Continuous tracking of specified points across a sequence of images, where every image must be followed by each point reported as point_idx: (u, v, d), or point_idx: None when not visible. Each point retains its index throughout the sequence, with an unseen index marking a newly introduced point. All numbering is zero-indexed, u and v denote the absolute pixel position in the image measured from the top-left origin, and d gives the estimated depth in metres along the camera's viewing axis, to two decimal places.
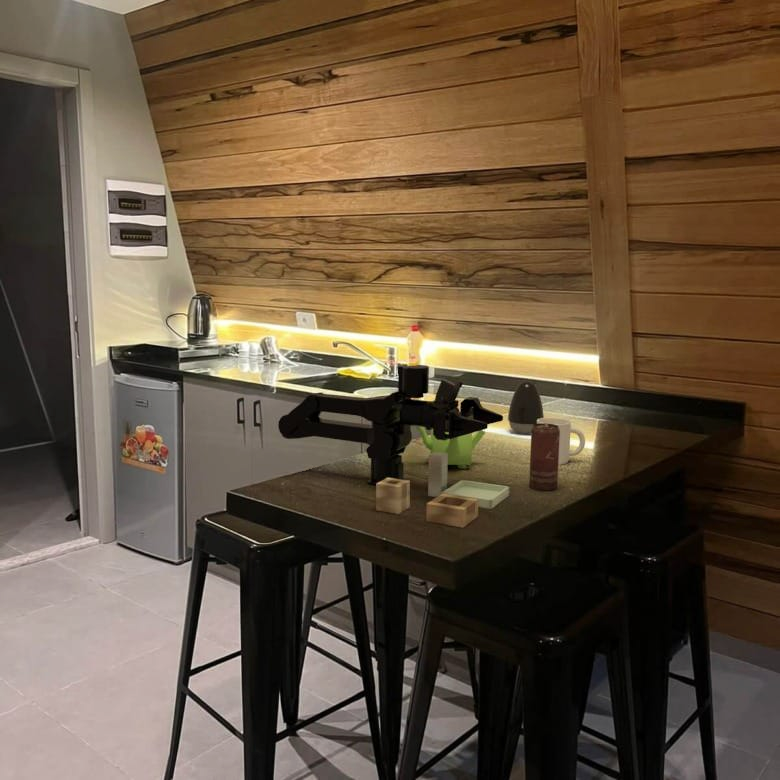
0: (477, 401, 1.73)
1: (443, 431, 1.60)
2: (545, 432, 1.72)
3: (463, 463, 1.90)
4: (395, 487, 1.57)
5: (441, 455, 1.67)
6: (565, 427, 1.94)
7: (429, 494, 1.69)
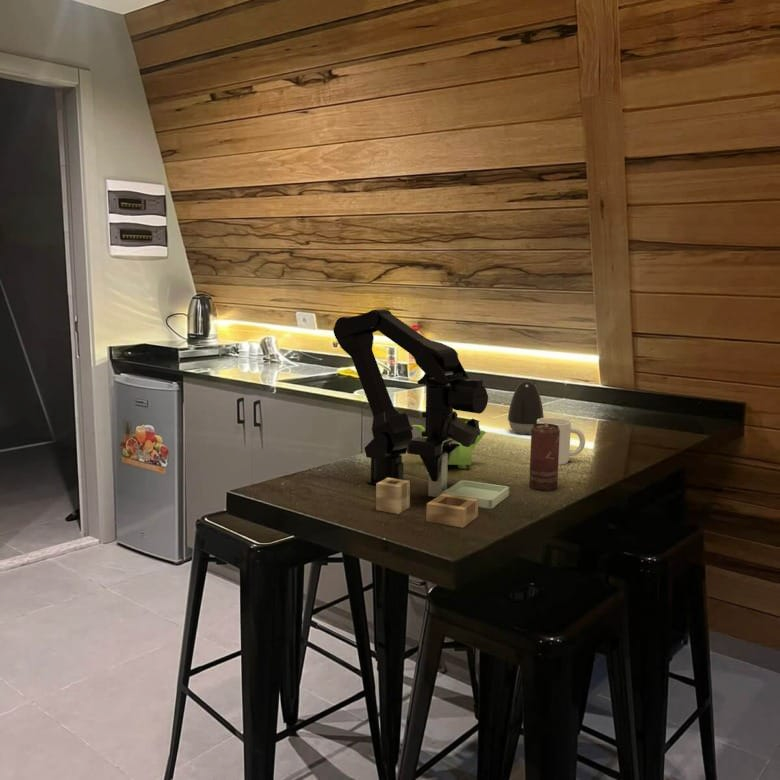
0: (456, 447, 1.70)
1: (414, 453, 1.61)
2: (545, 432, 1.72)
3: (463, 463, 1.90)
4: (395, 487, 1.57)
5: None
6: (565, 427, 1.94)
7: (429, 494, 1.69)
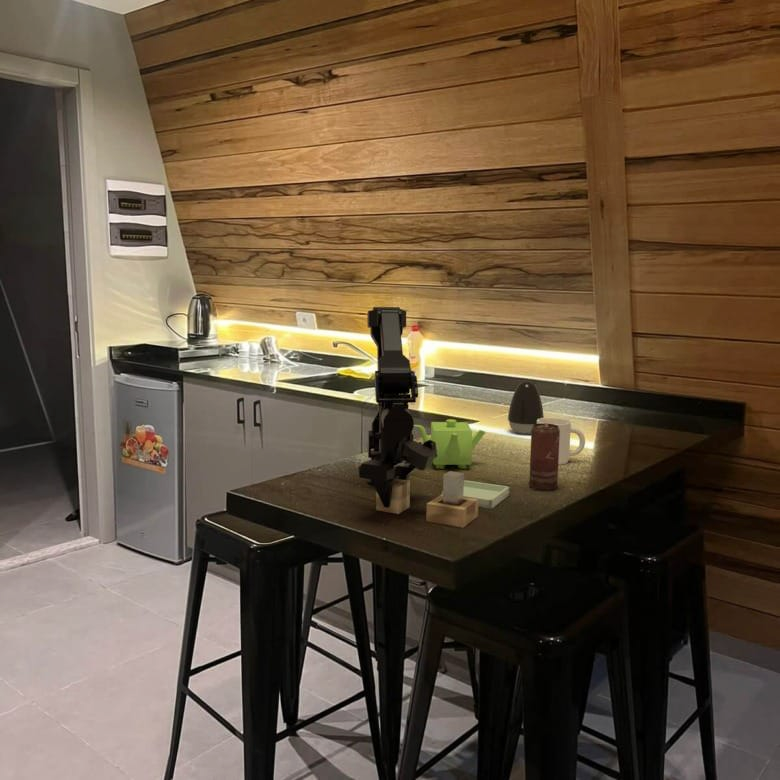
0: None
1: (365, 477, 1.52)
2: (545, 432, 1.72)
3: (463, 463, 1.90)
4: (395, 487, 1.57)
5: (457, 475, 1.52)
6: (565, 427, 1.94)
7: None
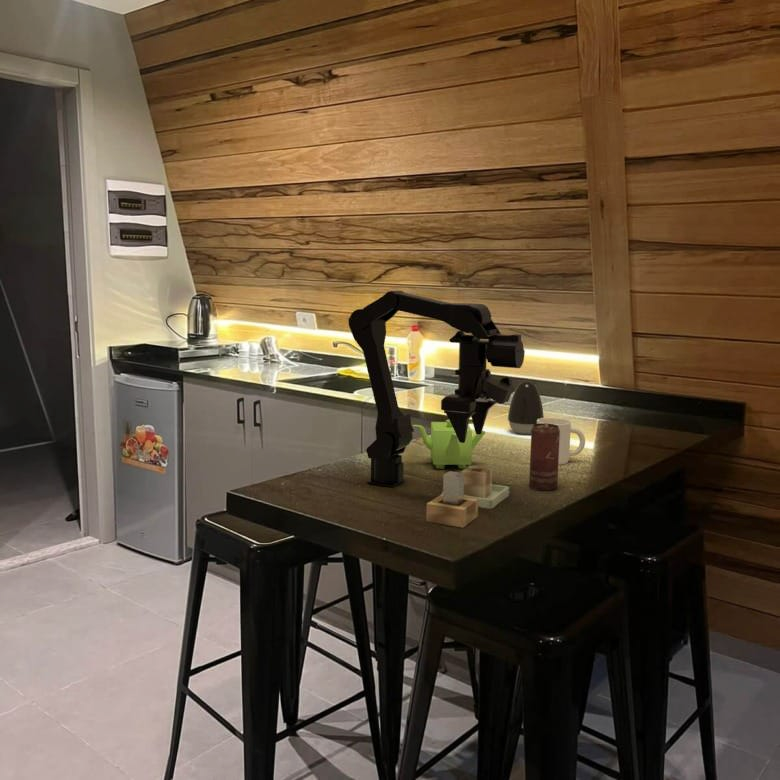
0: (494, 404, 1.71)
1: (449, 409, 1.59)
2: (545, 432, 1.72)
3: (463, 463, 1.90)
4: (480, 474, 1.64)
5: (457, 475, 1.52)
6: (565, 427, 1.94)
7: None
